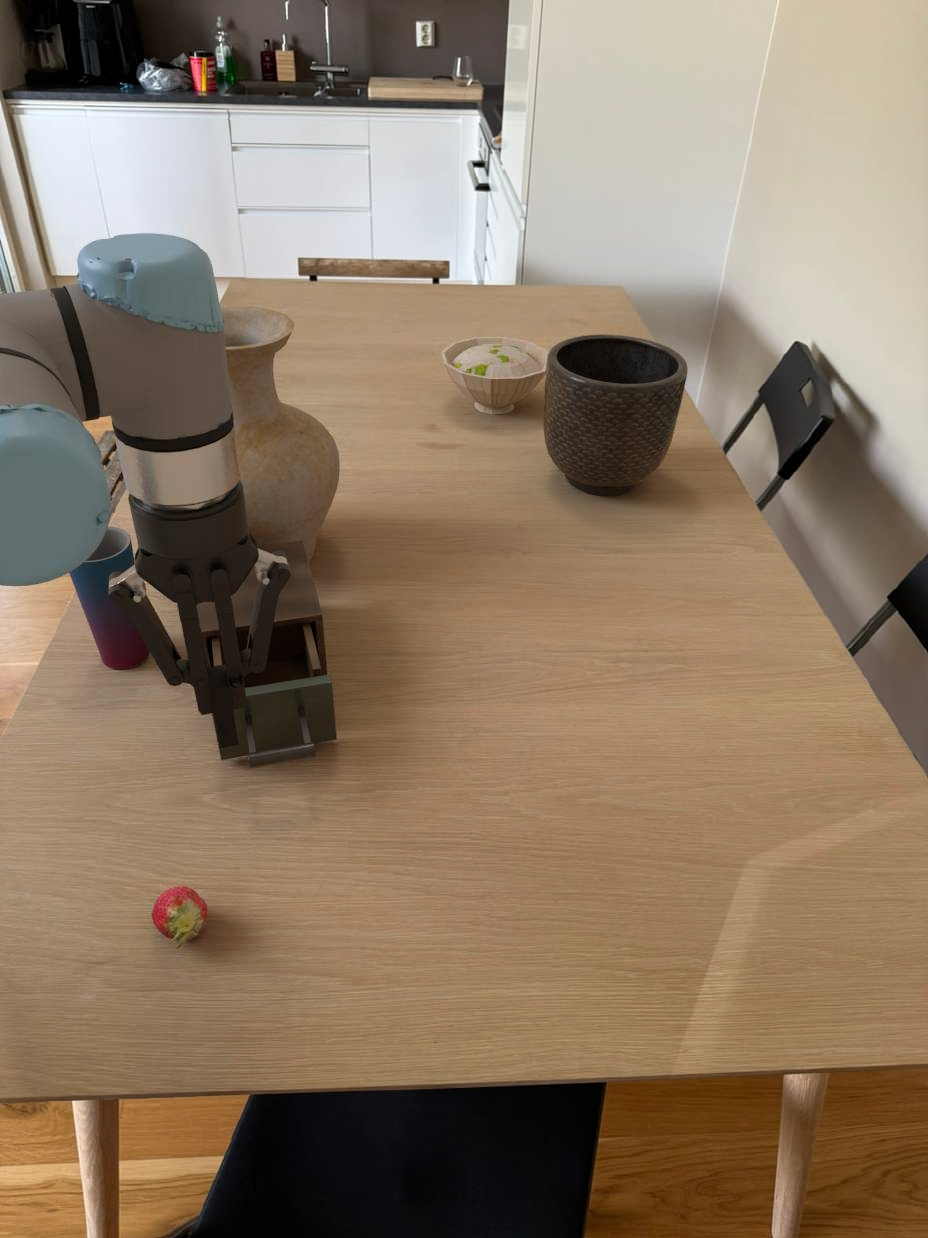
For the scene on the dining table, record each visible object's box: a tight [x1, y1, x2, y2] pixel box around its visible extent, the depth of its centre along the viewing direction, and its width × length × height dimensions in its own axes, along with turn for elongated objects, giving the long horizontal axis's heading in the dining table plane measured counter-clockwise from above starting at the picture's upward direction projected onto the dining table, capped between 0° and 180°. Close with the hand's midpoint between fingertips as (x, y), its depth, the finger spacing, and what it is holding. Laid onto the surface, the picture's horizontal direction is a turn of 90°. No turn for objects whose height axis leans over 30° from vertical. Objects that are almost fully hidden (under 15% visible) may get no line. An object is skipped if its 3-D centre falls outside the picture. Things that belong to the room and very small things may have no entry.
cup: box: [68, 525, 150, 671], centre depth 96 cm, size 7×7×15 cm
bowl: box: [440, 336, 550, 415], centre depth 153 cm, size 19×19×10 cm
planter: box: [543, 333, 689, 497], centre depth 130 cm, size 20×20×19 cm
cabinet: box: [197, 540, 329, 676], centre depth 99 cm, size 15×13×10 cm
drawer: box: [211, 622, 338, 770], centre depth 89 cm, size 20×11×8 cm, turn 16°
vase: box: [220, 306, 341, 563], centre depth 109 cm, size 22×22×30 cm
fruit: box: [150, 885, 209, 950], centre depth 72 cm, size 4×6×5 cm
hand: (227, 735), depth 74 cm, fingers closed
